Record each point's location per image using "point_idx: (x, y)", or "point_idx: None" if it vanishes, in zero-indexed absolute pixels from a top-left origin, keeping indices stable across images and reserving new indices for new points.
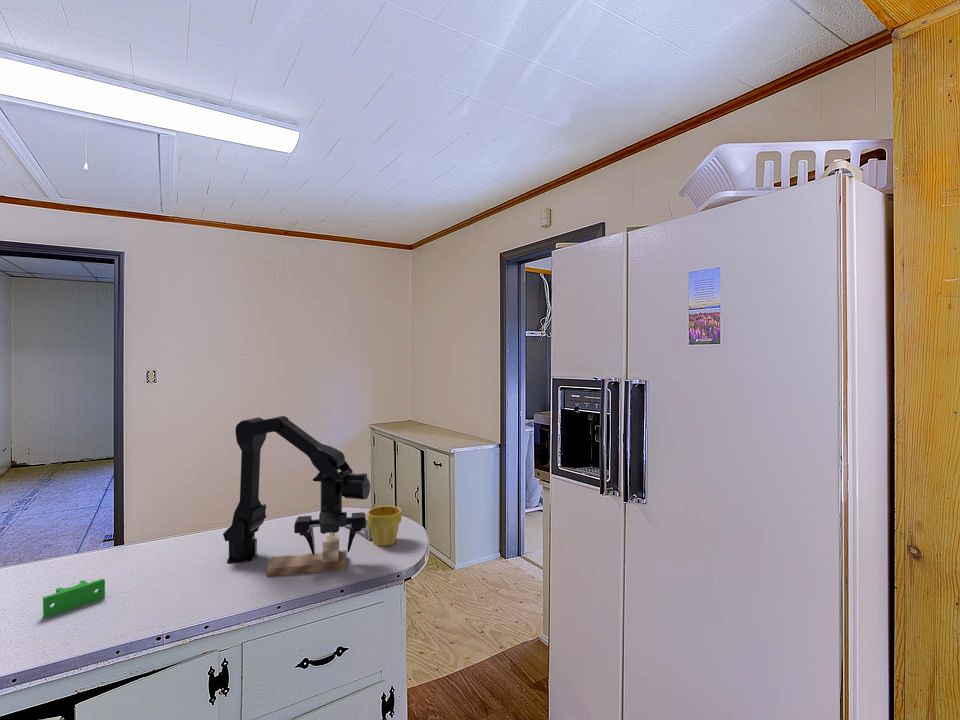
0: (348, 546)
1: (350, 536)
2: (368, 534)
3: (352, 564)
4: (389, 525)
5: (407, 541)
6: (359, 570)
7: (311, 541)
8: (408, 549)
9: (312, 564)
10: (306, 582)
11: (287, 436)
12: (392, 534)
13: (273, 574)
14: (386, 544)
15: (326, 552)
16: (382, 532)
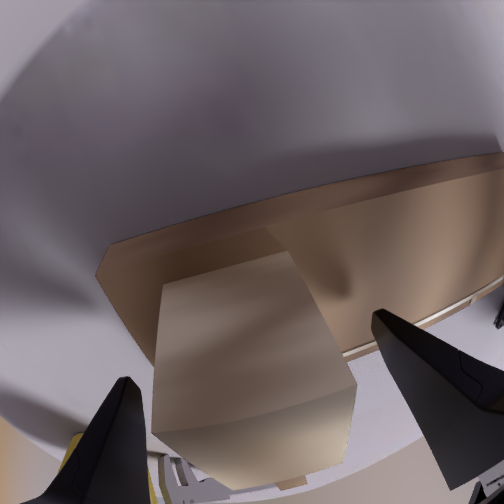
0: (110, 411)
1: (78, 487)
2: (169, 472)
3: (106, 311)
4: None
5: (49, 440)
6: (28, 242)
7: (460, 377)
8: (6, 405)
9: (360, 212)
10: (332, 35)
11: None
12: (61, 464)
13: (494, 157)
14: (81, 436)
15: (277, 319)
16: None
